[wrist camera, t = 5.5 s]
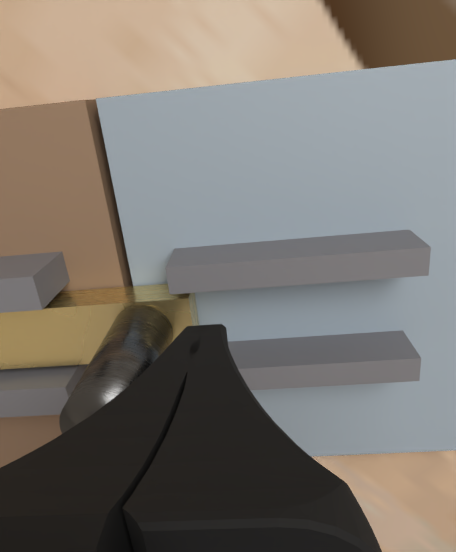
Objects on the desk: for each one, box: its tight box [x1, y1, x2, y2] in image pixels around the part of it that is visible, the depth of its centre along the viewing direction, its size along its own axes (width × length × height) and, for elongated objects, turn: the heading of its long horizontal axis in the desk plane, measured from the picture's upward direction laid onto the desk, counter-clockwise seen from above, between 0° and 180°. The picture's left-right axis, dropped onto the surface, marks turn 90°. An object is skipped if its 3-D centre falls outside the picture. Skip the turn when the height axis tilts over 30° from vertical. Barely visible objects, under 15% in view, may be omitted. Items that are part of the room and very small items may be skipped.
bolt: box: [0, 284, 199, 434], centre depth 12 cm, size 8×2×5 cm, turn 96°
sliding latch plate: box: [0, 59, 456, 468], centre depth 14 cm, size 20×13×4 cm, turn 96°
